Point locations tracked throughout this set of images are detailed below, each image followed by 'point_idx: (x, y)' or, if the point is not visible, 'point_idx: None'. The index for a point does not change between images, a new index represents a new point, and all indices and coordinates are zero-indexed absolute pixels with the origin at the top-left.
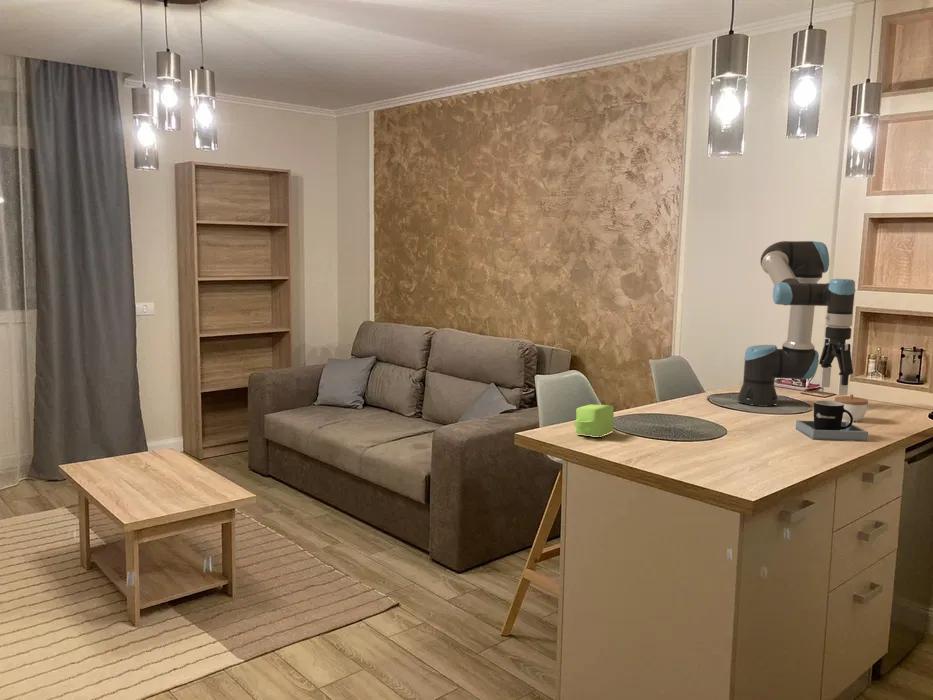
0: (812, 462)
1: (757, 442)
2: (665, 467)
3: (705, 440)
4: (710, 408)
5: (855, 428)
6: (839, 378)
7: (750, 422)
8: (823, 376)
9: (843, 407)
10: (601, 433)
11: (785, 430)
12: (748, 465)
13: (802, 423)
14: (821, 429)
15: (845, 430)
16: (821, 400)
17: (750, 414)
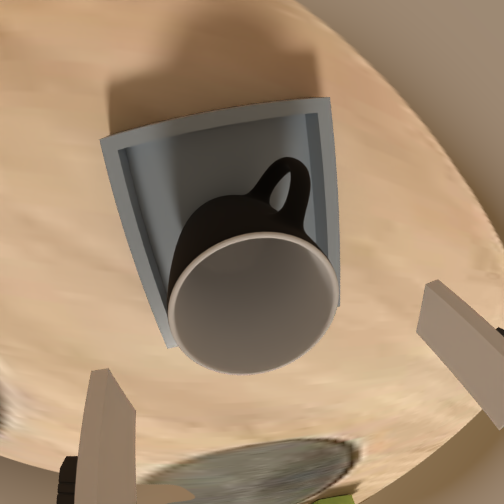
0: (491, 297)
1: (365, 391)
2: (459, 422)
3: (351, 444)
4: (26, 450)
5: (232, 123)
6: (489, 404)
7: None
8: (131, 480)
9: (296, 231)
10: (348, 499)
11: None
12: None
13: None
14: (269, 270)
15: (146, 147)
16: (179, 344)
17: (24, 402)
